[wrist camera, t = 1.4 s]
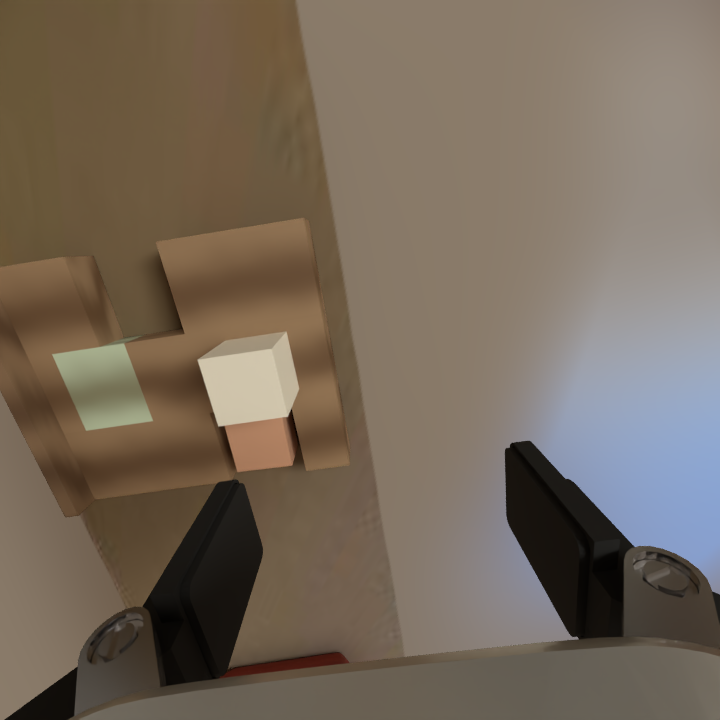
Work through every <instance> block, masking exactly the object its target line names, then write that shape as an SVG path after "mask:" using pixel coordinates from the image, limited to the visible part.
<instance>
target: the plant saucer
mask: <svg viewBox="0 0 720 720" xmlns="http://www.w3.org/2000/svg"><path fill="white" fill-rule="evenodd" d="M346 663H349V662H348V660H347V659H346V658H345V657H344V656H343V655H342V654H341V653H330V654H324V655H317V656H311V657H304V658H298V659H291V660H284V661H278V662H271V663H264V664H258V665H251V666H245V667H238V668H234V669H232V670H230V671H229V672H227V673H226V674H225V675H223V676H221V677H220V678H227V677H235V676H243V675H252V674H260V673H269V672H277V671H286V670H294V669H303V668H311V667H320V666H329V665H337V664H346ZM220 678H219V679H220Z"/></svg>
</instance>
